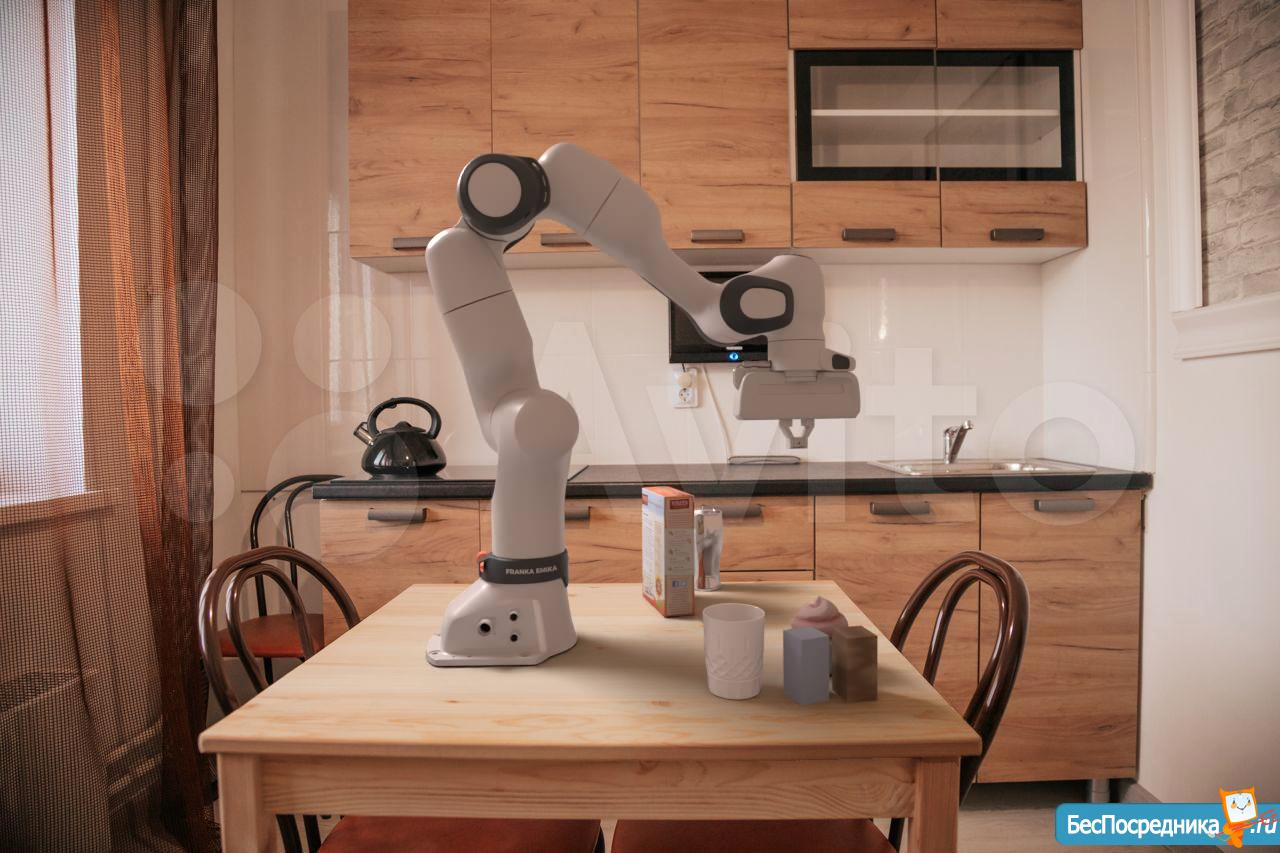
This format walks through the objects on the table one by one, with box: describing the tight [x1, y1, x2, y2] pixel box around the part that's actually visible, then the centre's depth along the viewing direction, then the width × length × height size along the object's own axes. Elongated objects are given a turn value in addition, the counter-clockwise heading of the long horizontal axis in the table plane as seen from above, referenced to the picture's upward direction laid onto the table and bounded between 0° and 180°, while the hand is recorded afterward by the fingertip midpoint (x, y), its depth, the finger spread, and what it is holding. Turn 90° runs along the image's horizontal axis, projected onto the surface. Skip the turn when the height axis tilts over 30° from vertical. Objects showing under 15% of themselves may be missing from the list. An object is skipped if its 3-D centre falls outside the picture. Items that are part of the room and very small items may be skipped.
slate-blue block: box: [782, 626, 830, 706], centre depth 86 cm, size 4×4×8 cm
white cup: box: [702, 602, 766, 701], centre depth 89 cm, size 8×8×10 cm
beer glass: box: [694, 508, 724, 592], centre depth 137 cm, size 7×7×15 cm
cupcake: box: [790, 595, 850, 676], centre depth 95 cm, size 9×9×10 cm
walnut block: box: [831, 625, 879, 704], centre depth 86 cm, size 4×4×8 cm
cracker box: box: [641, 486, 696, 618], centre depth 125 cm, size 14×6×21 cm, turn 15°
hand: (796, 448), depth 110 cm, fingers closed
